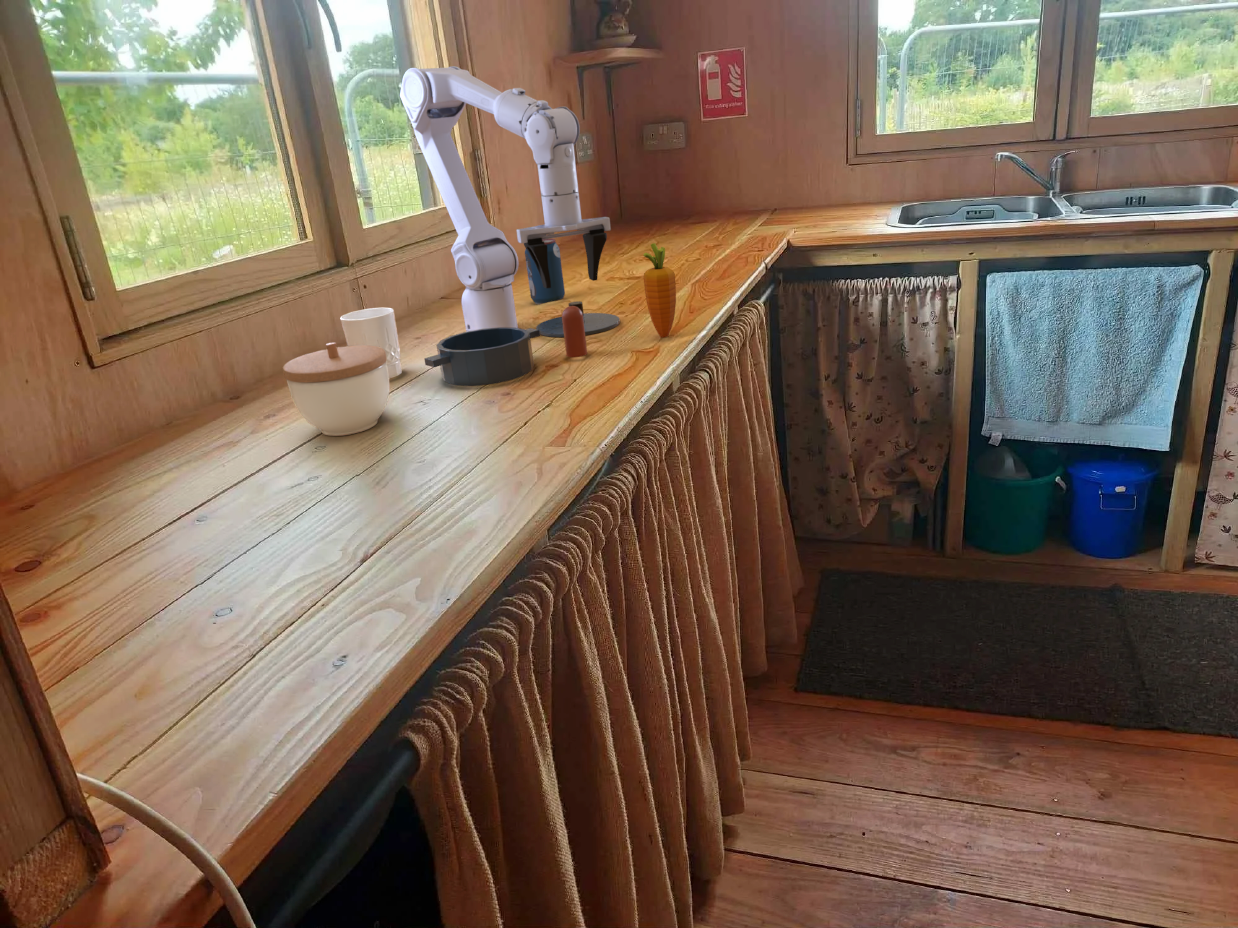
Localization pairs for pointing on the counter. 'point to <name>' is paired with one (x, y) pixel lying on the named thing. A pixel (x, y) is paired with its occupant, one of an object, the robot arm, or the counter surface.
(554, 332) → the lid
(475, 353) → the pot
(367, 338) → the white cup
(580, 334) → the sausage
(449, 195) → the robot arm
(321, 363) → the lidded bowl
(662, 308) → the carrot
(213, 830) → the counter surface
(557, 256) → the soda can
